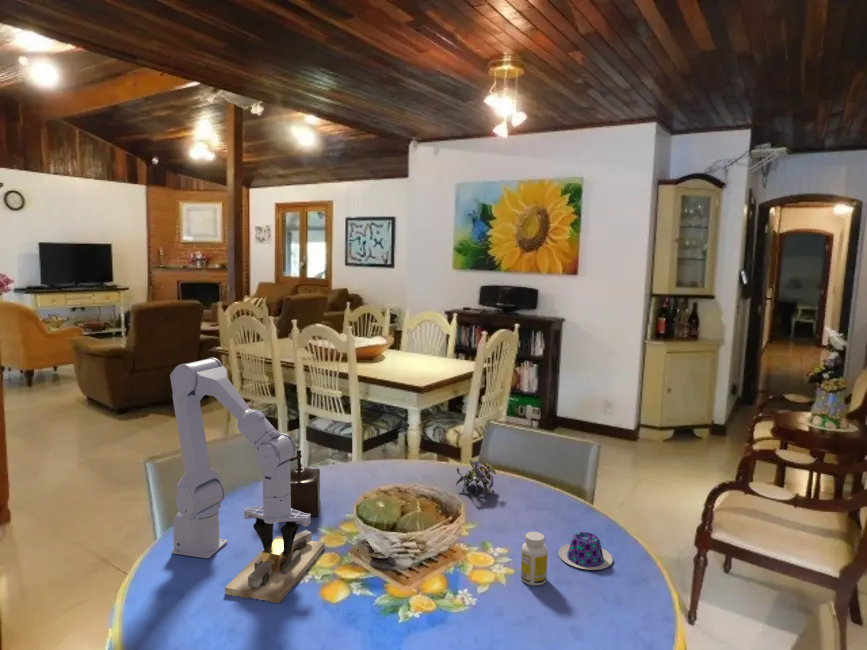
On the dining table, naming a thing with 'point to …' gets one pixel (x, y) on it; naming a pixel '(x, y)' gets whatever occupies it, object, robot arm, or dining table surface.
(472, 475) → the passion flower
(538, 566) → the supplement bottle
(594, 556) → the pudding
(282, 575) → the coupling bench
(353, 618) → the dining table surface
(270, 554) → the block
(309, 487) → the brown manual coffee grinder
